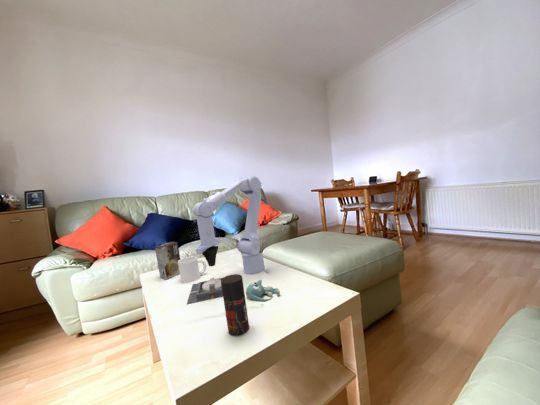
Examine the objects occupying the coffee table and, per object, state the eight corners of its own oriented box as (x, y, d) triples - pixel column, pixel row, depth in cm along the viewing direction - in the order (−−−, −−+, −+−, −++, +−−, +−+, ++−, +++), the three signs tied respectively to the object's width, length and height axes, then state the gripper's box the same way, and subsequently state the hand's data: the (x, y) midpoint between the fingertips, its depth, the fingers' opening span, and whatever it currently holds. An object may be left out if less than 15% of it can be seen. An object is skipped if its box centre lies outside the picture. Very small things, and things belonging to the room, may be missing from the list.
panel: (235, 278, 105) (234, 272, 104) (237, 296, 87) (236, 289, 87) (193, 286, 101) (192, 280, 101) (187, 307, 84) (185, 300, 83)
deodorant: (229, 324, 70) (222, 276, 69) (249, 321, 70) (242, 273, 69) (227, 337, 64) (219, 284, 63) (249, 334, 64) (241, 281, 63)
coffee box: (176, 271, 125) (171, 241, 123) (183, 272, 121) (178, 242, 120) (159, 278, 118) (154, 246, 116) (166, 279, 114) (161, 247, 112)
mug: (205, 273, 116) (202, 253, 115) (210, 278, 109) (207, 256, 108) (180, 281, 110) (176, 259, 109) (183, 287, 102) (179, 264, 102)
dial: (203, 286, 97) (201, 277, 97) (223, 282, 99) (221, 273, 98) (202, 298, 86) (200, 288, 86) (224, 293, 88) (222, 283, 88)
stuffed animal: (283, 285, 79) (247, 286, 77) (282, 306, 80) (246, 307, 78) (276, 274, 90) (245, 274, 88) (275, 292, 90) (244, 293, 88)
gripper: (205, 236, 85) (211, 272, 86) (224, 227, 99) (229, 258, 100) (189, 237, 87) (195, 273, 88) (209, 228, 101) (214, 259, 102)
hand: (212, 265), depth 94 cm, fingers closed
